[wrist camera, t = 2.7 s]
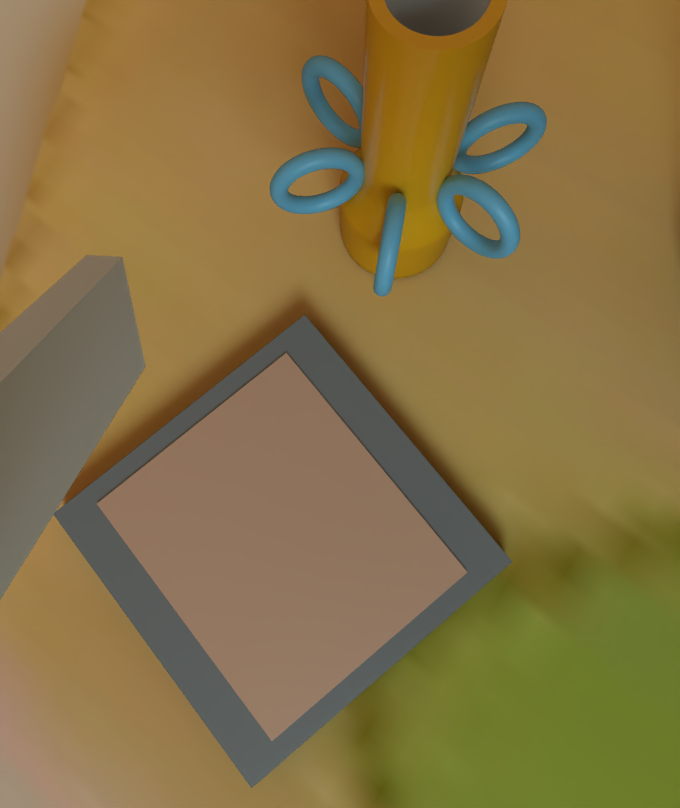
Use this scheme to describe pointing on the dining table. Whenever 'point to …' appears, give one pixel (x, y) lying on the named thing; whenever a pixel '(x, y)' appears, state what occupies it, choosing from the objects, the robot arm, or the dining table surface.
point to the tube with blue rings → (412, 138)
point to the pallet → (280, 546)
